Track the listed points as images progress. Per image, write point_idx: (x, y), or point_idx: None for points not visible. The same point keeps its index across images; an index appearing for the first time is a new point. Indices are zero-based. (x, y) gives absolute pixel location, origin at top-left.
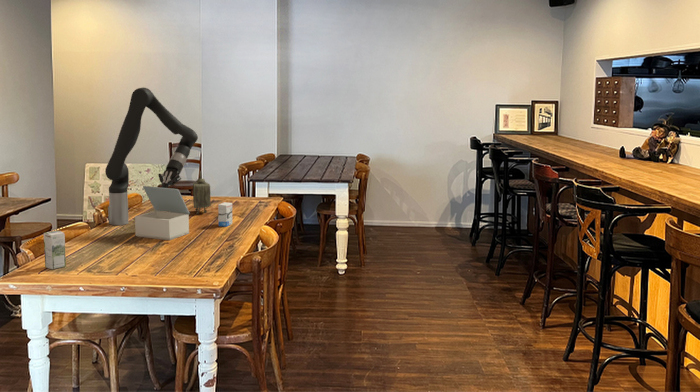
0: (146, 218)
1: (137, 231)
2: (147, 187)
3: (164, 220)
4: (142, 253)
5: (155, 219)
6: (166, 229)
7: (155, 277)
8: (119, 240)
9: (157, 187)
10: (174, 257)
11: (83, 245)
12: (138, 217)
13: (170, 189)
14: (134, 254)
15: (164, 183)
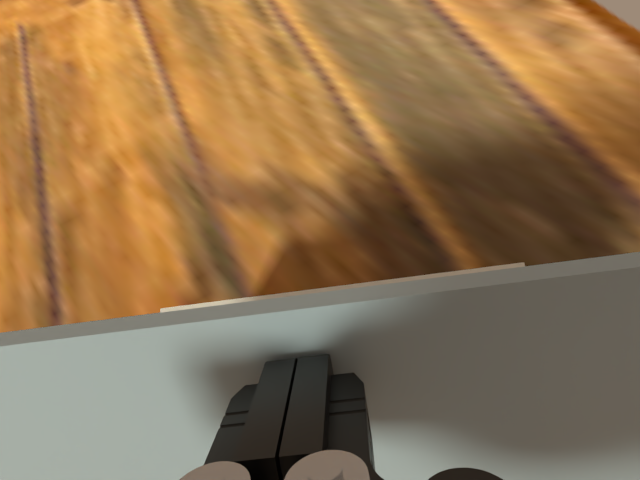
0: (394, 282)
1: None
2: (635, 260)
3: (208, 305)
4: (193, 129)
5: (299, 293)
6: None
7: (13, 18)
8: (477, 211)
9: (369, 295)
10: (39, 156)
11: (527, 76)
12: (482, 270)
13: (46, 331)
14: (214, 106)
15: (279, 455)
